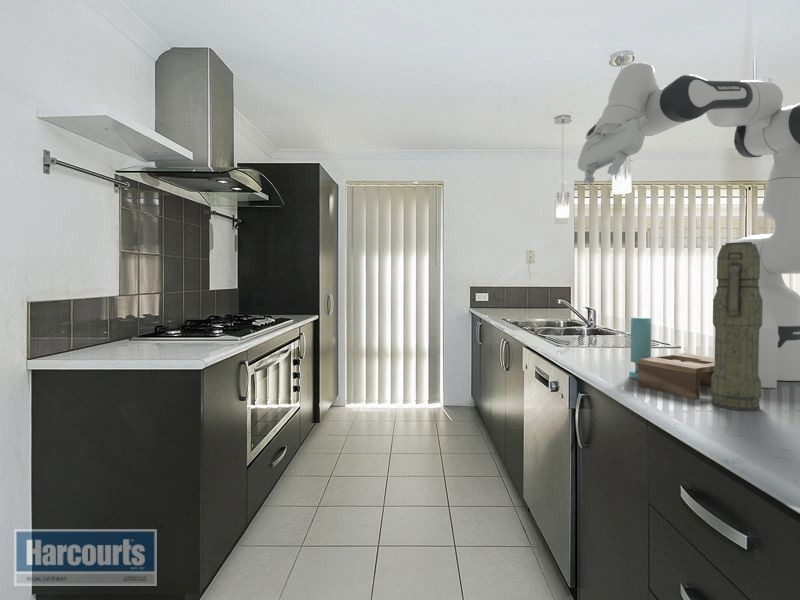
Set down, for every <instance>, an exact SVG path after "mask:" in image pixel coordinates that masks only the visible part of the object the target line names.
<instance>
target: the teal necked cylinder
mask: <svg viewBox="0 0 800 600" xmlns="http://www.w3.org/2000/svg"><path fill="white" fill-rule="evenodd" d="M650 357H652V318H651V317H644V316H643V317H642V316H641V317H640V316H638V317H637V316H636V317H630V362H632V363H634V364H635V365H634V370H630V371H629V373H628V375H629V376H628V378H629V379H632V380H637V381H638V359H641V358H650Z"/></svg>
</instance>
